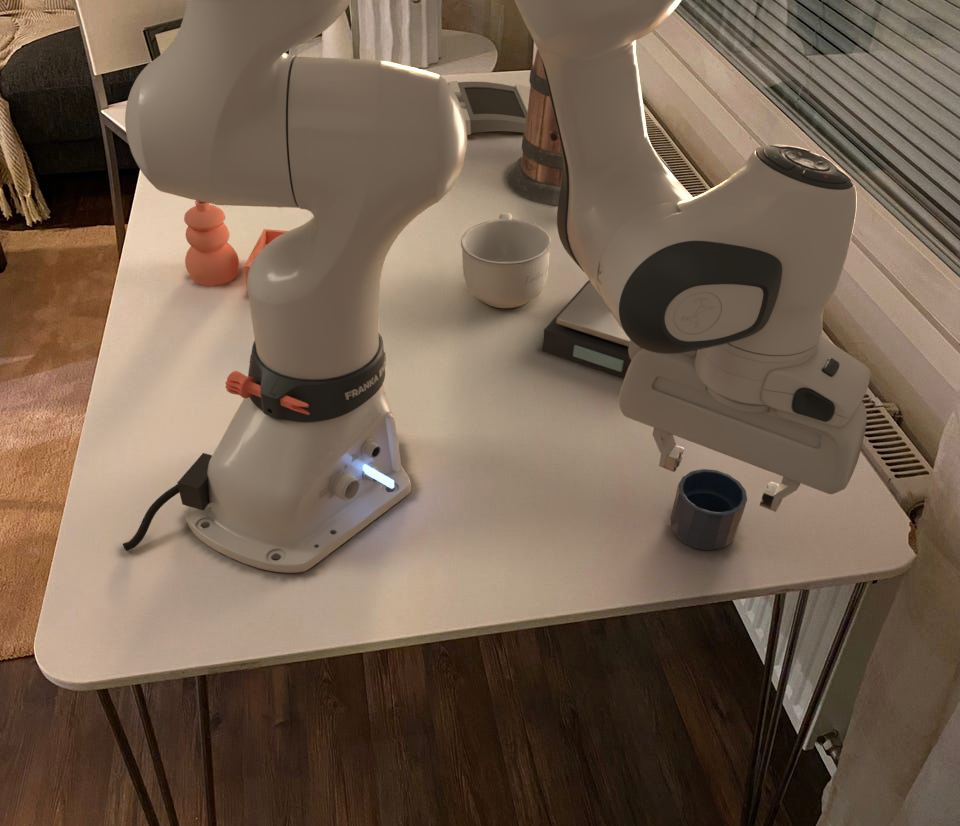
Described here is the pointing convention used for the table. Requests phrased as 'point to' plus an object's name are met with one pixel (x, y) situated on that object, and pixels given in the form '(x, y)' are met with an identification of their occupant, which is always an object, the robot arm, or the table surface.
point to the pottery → (215, 246)
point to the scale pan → (592, 317)
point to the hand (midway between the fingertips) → (718, 485)
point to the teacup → (505, 261)
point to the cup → (708, 509)
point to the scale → (585, 347)
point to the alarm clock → (492, 106)
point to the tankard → (539, 146)
